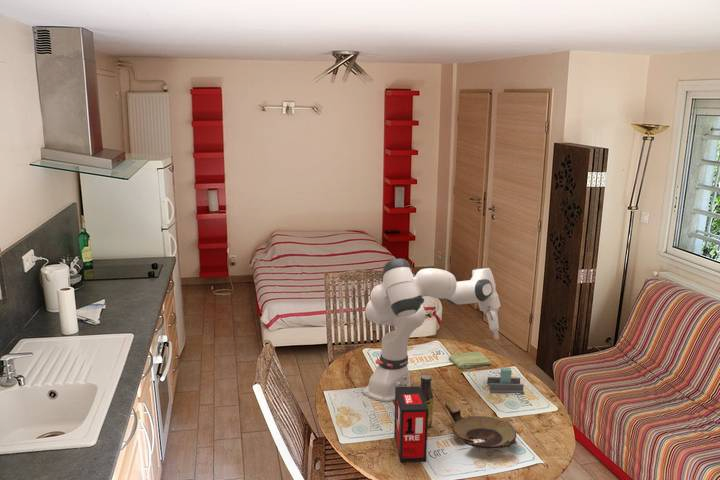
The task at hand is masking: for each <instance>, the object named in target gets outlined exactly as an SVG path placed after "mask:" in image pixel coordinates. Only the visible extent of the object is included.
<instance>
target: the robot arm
mask: <svg viewBox="0 0 720 480" xmlns="http://www.w3.org/2000/svg"><path fill="white" fill-rule="evenodd" d="M471 274H472V277H471V278H470V279H468V280H461V281H457V279H456V276H455V275H454V274H453V273H452V272H450V271H448V270H444V269H442V268H435V267H433V268H432V267H428V268H422V269H420V270H419V271H417V272H416V274H415V276H414V274H413V272H412V267H411V264H410V262H409V261H408V260H406V259H405V258H393V259H391V260H389V261H387V262H385V264H384V266H383V268H382V273H381V275H380V278H381V279H382V283H380V284H377V285H376V286H374V287H372V290H371V292H370V300H369V301H368V302H367V304H366V306H365V308H364V309H365V311H364V314H365V317H366V318H367V320H368V322H371V323H374V324H377V325H382V326H391V327H395V329H394V330H392V331H388V332H386V333H385V334H384V335H383V336H382V338H381V352H380V356H379V359H378V358H376V360H375V364H376V365H378V366H377V367H376V368H375V369H374V372H373V373H372V375H371V376H370V378H369V381H368V384H367V386H366V387H365V388H364V389H363V390H362V393H363V395H364V396H366V397H368V398H370V399H372V398H373V400H376V401H380V402H386V403H390V402H393V401H395V387H411V373H410V370H409V368H408V367H409V366H408V364H409V356H408V347H409V346H408V345H409V340H410V337H411V335H412V334H413V332H415V330H416V329H418V328H420V327H421V326H423V323H424V322H425V319H426V316H427V315H426V309H425V307H424V306H423V305H422V304H424V302H425V299H424V297H431V298H436V299H443V300H445V301H447V302H448V303H449V304H450V305H452V306H460V305H466V304H467V305H469V304H477V303H478V308H479V311H481V312H483V314H484V315H486V318H487V323H488V327H489V330H490V332H492V334H493V337H494V339H495V340H500V335H499V332H500V331H499V330H500V327H499V325H500V324H499V317H498V312H499V308H500V307H501V306H502V305H501V301H500V298H499V294H498V292H497V285H496V281H495V278H494V275H493V272H492V270H491V268H490V267H485V266H484V267H476V268H473V269H472V271H471Z"/></svg>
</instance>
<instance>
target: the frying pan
mask: <svg viewBox="0 0 720 480" xmlns="http://www.w3.org/2000/svg"><path fill="white" fill-rule="evenodd" d="M444 405H445V408H446V410H447V411H448V412H449V414H450V416H451V418H452V420H453V421H454V423H453V425H452V434H453V435H454V436H455V437H456V438H457V439H460V440H462V441H465V442H464V445H468V446H470V447H473V448H478V449H485V450H486V449H487V450H489V449H490V450H491V449H492V450H493V449H502V448H510V447H511V445H514V444H516V443H517V441H516V438H517V431H516V428H515V427H514V426H513V425H511V423H509V422H508V421H504V420H503V419H500V418H496V417H492V416H486V415H485V416H483V415H481V416H480V415H472V416H471V415H470V416H465V417H464V416H463V417H462V416H461V411H462V410H461V409H457V408H454V407H453V406H452V405H451V404H450V403H449V402H445V404H444ZM474 438H478V439H480V438H481V440H483V439H484V440H483V441H481V442H475V440H474Z"/></svg>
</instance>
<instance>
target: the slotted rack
mask: <svg viewBox="0 0 720 480" xmlns="http://www.w3.org/2000/svg"><path fill="white" fill-rule="evenodd" d="M487 384H488V385H487ZM486 385H487V387H489V388H488V389H489V393H490V394H493V393H523V394H522V395H524V394H525V391H524V386H525V385H524V384H523V383H521V377H512V376H511V384H502V383H500V376H487V380H486Z"/></svg>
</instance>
